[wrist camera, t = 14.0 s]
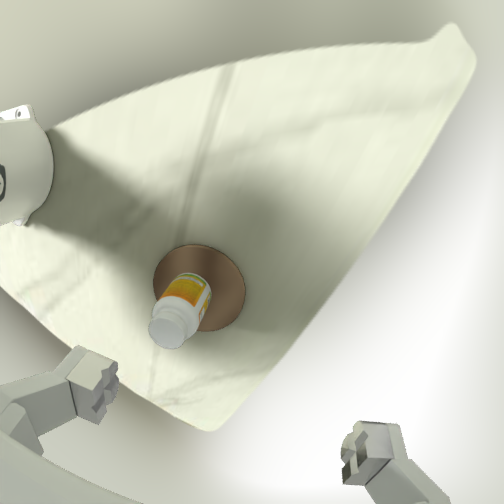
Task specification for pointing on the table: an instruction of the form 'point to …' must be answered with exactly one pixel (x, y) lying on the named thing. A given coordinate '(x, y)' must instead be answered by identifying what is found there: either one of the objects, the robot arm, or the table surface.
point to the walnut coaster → (214, 273)
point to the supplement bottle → (179, 310)
